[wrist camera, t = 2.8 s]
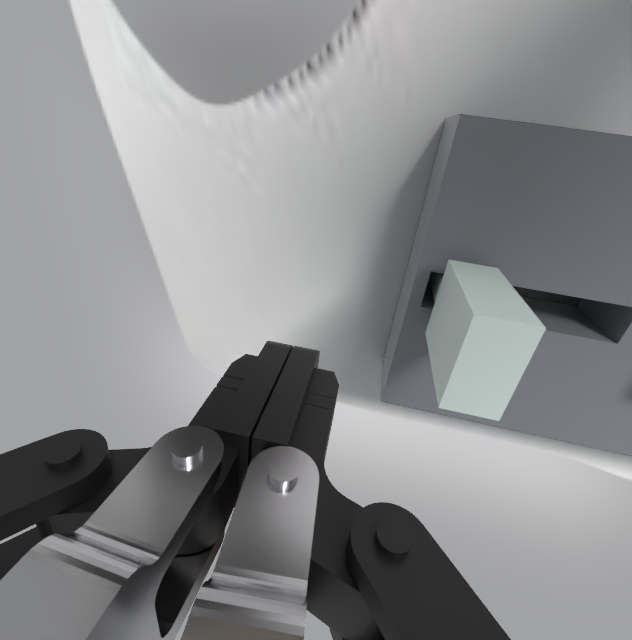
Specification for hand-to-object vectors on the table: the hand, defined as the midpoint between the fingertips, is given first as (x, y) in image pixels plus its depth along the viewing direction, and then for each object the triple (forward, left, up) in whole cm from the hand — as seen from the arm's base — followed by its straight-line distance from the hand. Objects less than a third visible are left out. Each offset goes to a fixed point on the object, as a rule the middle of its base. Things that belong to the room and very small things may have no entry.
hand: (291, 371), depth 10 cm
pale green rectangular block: (0, +6, -12) cm, 13 cm away
